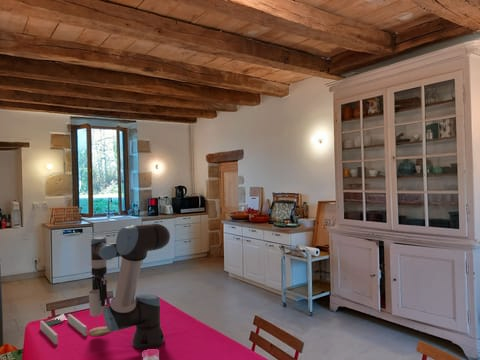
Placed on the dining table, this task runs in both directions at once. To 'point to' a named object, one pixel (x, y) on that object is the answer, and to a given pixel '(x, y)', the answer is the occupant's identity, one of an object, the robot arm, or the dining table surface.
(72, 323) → the channel
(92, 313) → the mug
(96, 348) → the dining table surface
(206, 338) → the dining table surface
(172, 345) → the dining table surface
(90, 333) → the coaster
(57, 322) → the pad
